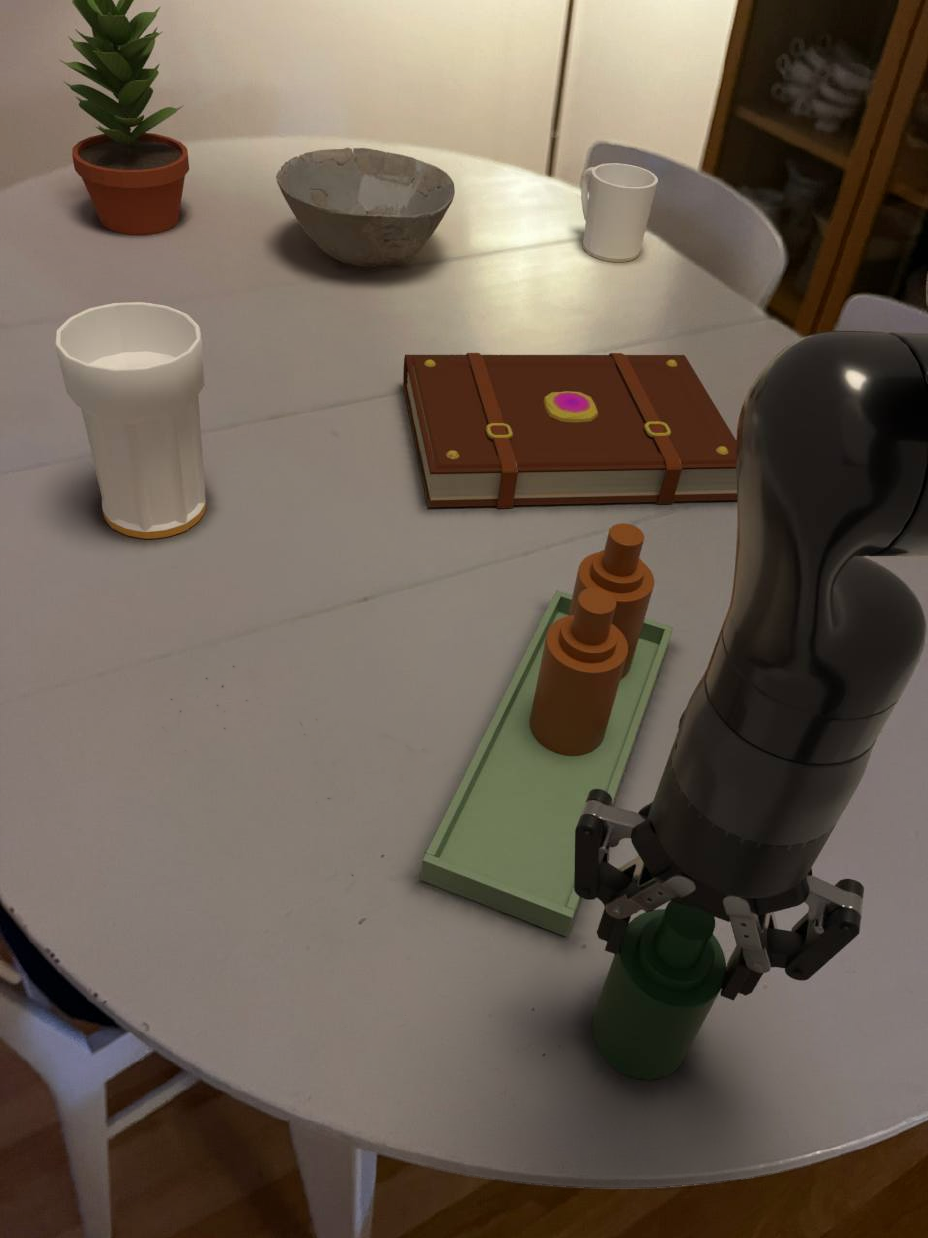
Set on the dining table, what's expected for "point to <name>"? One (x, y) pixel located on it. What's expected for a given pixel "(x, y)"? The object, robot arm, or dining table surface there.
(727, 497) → the book
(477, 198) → the dining table surface
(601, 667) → the amber bottle mid
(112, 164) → the potted plant
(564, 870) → the tray
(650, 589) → the amber bottle far
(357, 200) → the ceramic bowl
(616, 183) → the mug
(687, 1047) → the green bottle
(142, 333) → the cup
